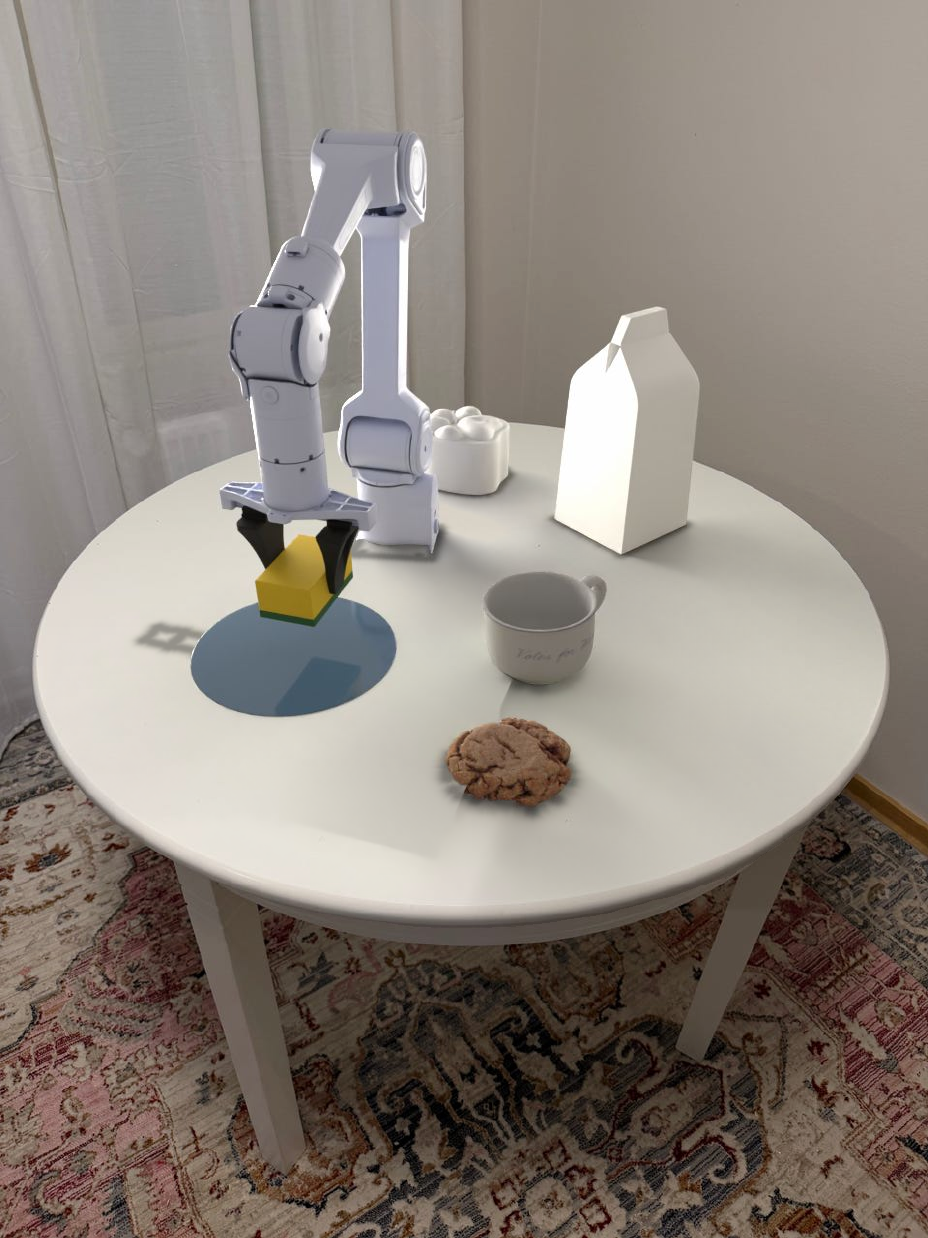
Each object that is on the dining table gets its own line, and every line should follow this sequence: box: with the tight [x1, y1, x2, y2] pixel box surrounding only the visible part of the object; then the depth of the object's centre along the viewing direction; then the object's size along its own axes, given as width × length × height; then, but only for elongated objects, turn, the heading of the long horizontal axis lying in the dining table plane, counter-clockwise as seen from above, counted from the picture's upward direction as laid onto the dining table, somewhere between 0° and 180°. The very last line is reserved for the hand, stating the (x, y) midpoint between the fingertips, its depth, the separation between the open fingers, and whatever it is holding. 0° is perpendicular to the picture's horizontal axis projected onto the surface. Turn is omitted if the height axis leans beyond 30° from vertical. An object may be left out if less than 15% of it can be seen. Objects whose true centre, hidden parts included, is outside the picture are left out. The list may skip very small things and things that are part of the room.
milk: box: [553, 305, 701, 555], centre depth 104 cm, size 12×12×26 cm
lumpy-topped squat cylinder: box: [426, 405, 511, 496], centre depth 120 cm, size 10×13×9 cm
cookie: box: [445, 716, 572, 807], centre depth 74 cm, size 10×11×3 cm
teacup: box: [481, 571, 608, 685], centre depth 85 cm, size 14×11×8 cm
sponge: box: [254, 534, 354, 627], centre depth 83 cm, size 6×9×4 cm, turn 163°
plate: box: [189, 596, 397, 718], centre depth 87 cm, size 20×20×1 cm
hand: (307, 583), depth 84 cm, fingers closed on sponge, 5 cm apart
